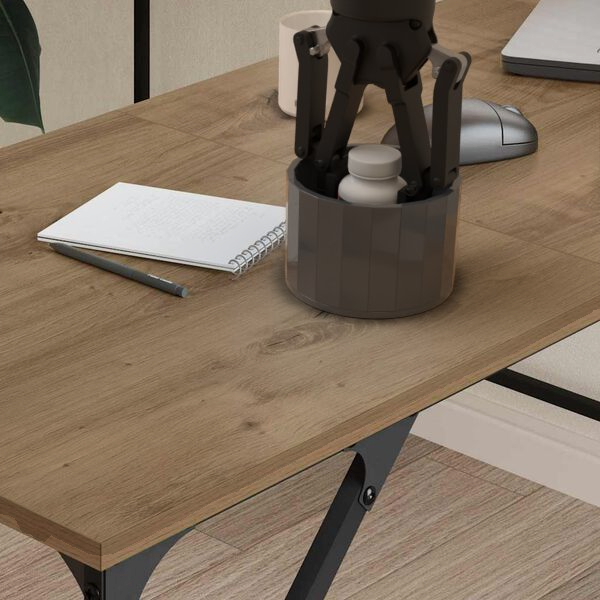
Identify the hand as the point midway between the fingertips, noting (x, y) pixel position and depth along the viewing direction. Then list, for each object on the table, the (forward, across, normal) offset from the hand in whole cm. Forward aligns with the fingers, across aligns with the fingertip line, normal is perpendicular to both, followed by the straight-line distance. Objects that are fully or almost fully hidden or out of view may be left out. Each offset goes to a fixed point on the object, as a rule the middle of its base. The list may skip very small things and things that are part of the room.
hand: (370, 255), depth 104 cm
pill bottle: (+2, 0, 0) cm, 2 cm away
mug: (+2, +24, -33) cm, 41 cm away
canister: (+2, 0, 0) cm, 2 cm away
